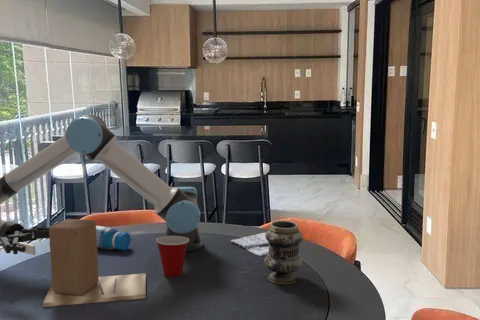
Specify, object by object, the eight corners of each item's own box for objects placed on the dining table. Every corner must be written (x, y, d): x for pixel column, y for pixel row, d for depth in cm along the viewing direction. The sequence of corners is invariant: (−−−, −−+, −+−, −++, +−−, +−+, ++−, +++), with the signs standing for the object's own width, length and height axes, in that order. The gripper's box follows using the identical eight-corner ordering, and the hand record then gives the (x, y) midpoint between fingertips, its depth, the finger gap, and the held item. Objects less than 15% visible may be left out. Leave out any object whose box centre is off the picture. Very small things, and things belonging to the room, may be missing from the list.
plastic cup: (195, 269, 160) (194, 235, 158) (181, 282, 150) (180, 245, 148) (166, 265, 164) (165, 232, 162) (150, 277, 153) (149, 241, 152)
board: (145, 276, 154) (145, 273, 154) (145, 298, 139) (145, 293, 138) (53, 284, 149) (53, 280, 149) (43, 306, 133) (42, 302, 133)
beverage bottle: (72, 233, 181) (116, 242, 174) (85, 218, 187) (128, 225, 180) (80, 249, 186) (123, 257, 179) (92, 233, 192) (134, 241, 185)
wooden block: (82, 296, 136) (79, 229, 133) (51, 293, 139) (47, 227, 136) (100, 283, 146) (97, 219, 143) (70, 280, 148) (66, 217, 145)
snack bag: (269, 235, 198) (269, 230, 198) (299, 249, 181) (300, 244, 181) (229, 243, 189) (229, 238, 188) (257, 258, 172) (257, 253, 171)
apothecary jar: (297, 288, 145) (298, 231, 142) (259, 283, 149) (259, 227, 146) (305, 274, 156) (306, 220, 153) (270, 269, 160) (270, 217, 158)
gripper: (40, 234, 166) (85, 243, 156) (-29, 256, 144) (17, 269, 134) (39, 213, 165) (84, 221, 155) (-31, 232, 143) (16, 243, 133)
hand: (53, 243), depth 145 cm, fingers open, 13 cm apart
